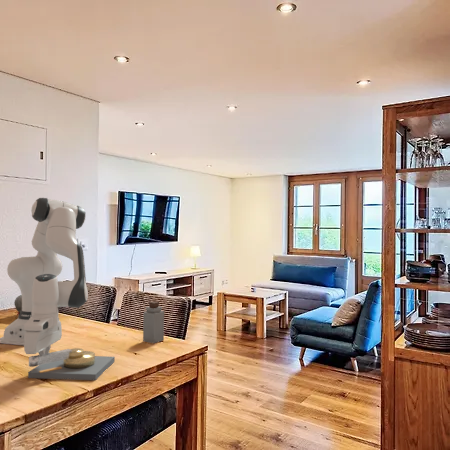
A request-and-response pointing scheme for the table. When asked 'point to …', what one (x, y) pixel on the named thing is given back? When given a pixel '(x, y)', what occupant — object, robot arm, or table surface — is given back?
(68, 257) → the robot arm
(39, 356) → the dial
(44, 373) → the stand plate
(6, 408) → the table surface
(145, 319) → the perfume bottle
